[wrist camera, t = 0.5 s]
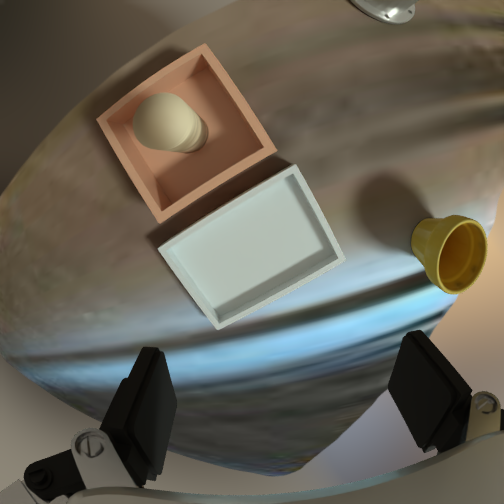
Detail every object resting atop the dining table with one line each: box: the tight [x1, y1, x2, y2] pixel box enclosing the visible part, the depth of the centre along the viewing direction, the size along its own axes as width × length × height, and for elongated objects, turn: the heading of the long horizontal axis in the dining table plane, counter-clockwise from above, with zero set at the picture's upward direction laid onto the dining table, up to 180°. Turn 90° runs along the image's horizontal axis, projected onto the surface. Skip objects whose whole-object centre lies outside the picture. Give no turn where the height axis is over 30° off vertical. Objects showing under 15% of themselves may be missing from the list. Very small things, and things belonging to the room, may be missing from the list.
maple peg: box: [133, 93, 209, 153], centre depth 26 cm, size 5×5×12 cm
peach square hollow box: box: [96, 43, 277, 224], centre depth 30 cm, size 15×15×6 cm
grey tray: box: [158, 164, 346, 330], centre depth 36 cm, size 20×14×2 cm
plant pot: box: [411, 215, 487, 294], centre depth 33 cm, size 10×10×10 cm
